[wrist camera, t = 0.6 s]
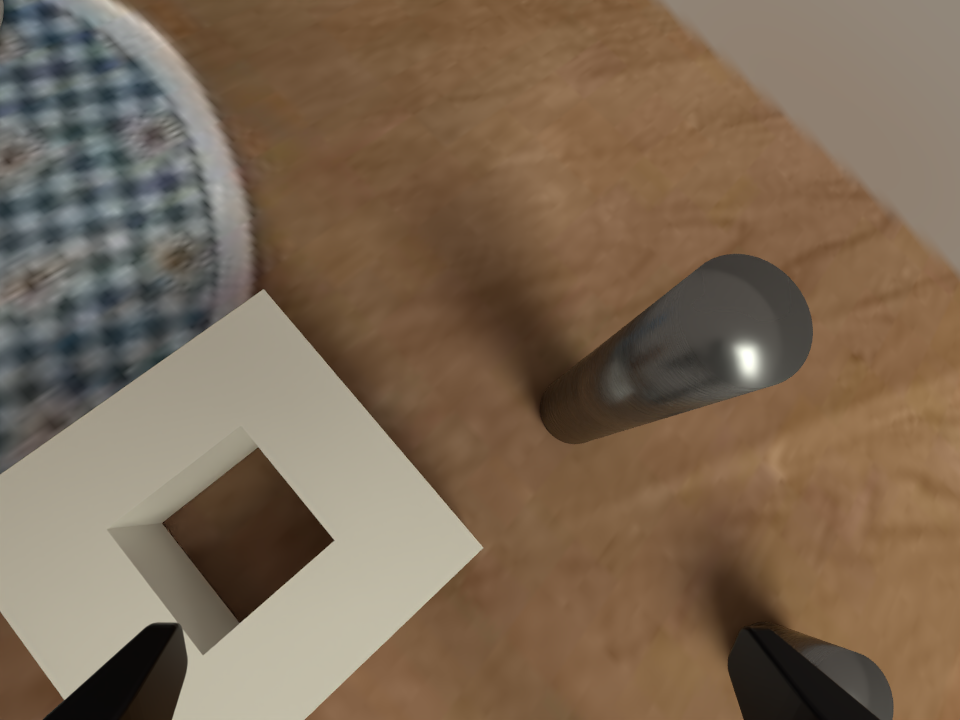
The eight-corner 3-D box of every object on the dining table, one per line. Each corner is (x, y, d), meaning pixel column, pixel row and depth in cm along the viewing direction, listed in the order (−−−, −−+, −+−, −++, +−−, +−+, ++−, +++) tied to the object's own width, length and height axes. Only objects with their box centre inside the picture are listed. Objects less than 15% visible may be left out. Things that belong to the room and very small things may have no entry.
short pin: (815, 662, 23) (909, 701, 19) (771, 718, 22) (859, 772, 18) (764, 606, 23) (845, 631, 19) (719, 659, 22) (793, 698, 18)
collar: (470, 538, 22) (483, 547, 19) (218, 777, 19) (171, 847, 16) (287, 322, 24) (263, 289, 20) (23, 515, 21) (-66, 521, 17)
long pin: (619, 413, 24) (838, 327, 12) (572, 458, 24) (754, 416, 11) (573, 363, 25) (741, 228, 12) (526, 406, 24) (652, 309, 12)
